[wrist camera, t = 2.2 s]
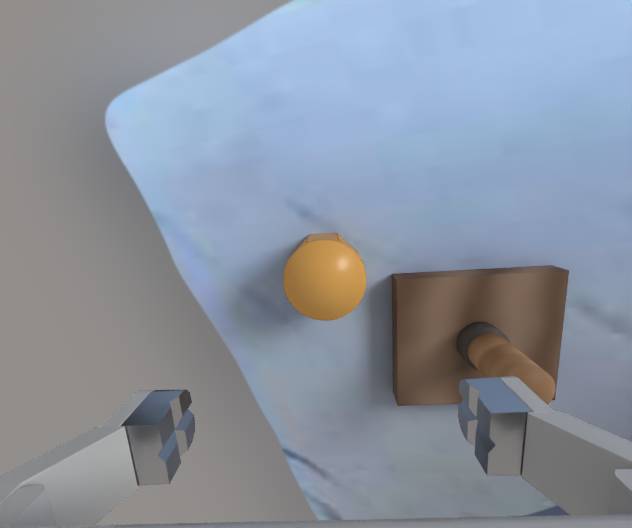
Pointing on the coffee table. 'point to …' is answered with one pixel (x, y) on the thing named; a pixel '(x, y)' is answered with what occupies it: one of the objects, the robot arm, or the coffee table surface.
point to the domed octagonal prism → (324, 277)
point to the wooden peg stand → (476, 330)
